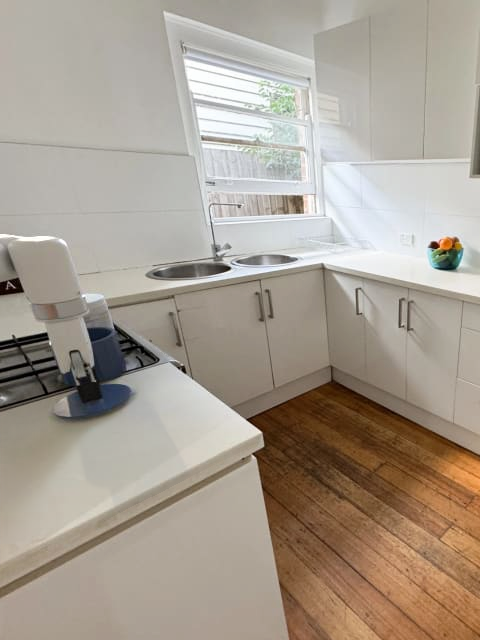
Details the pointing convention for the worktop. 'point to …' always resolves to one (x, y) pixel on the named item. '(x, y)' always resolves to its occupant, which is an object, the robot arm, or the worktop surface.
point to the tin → (101, 355)
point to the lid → (92, 402)
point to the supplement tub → (97, 312)
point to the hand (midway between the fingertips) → (91, 393)
